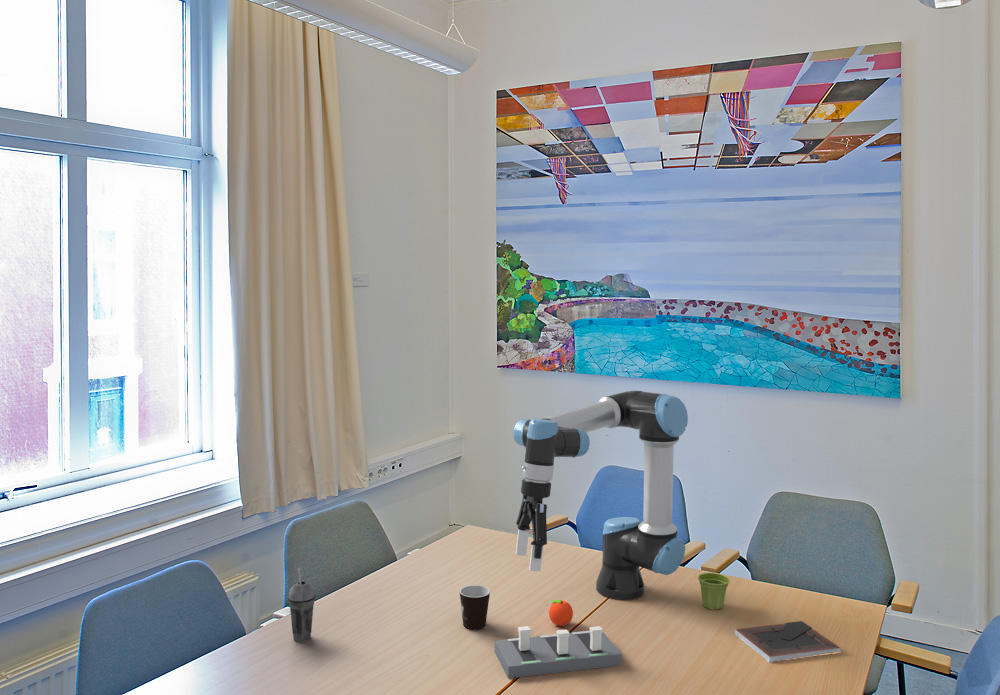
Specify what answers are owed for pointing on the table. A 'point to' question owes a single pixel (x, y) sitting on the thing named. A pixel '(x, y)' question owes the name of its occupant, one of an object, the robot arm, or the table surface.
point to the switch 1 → (524, 638)
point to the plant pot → (713, 589)
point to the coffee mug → (474, 606)
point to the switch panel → (555, 655)
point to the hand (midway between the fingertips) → (527, 562)
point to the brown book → (786, 641)
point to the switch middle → (562, 641)
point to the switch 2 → (595, 638)
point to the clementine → (560, 612)
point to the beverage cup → (301, 609)
